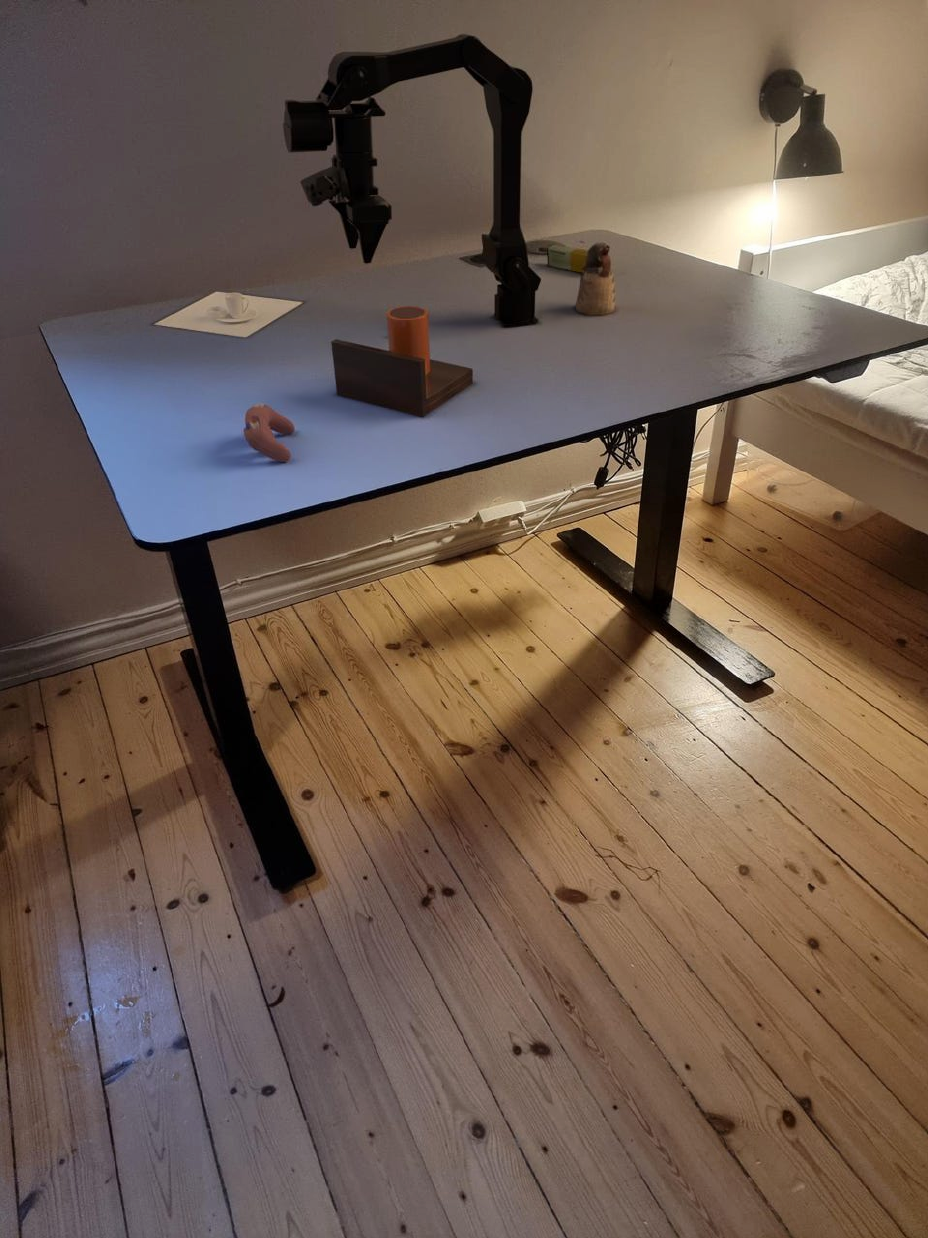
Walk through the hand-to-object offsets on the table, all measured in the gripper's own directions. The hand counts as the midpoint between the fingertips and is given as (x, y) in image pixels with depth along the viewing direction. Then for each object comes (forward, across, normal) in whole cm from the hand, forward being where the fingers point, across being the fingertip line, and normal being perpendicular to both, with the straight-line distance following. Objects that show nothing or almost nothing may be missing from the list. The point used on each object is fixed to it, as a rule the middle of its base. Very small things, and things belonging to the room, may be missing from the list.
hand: (359, 255), depth 146 cm
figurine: (+13, +1, +45) cm, 47 cm away
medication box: (+13, -23, +52) cm, 58 cm away
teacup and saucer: (+15, -25, -19) cm, 35 cm away
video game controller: (+16, +34, -22) cm, 44 cm away
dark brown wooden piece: (+14, +22, +1) cm, 26 cm away
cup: (+12, +21, +2) cm, 24 cm away
